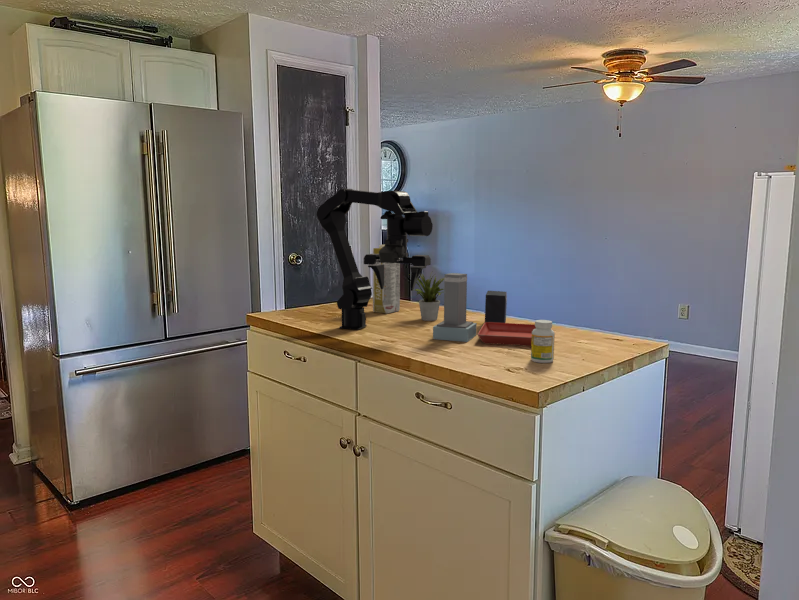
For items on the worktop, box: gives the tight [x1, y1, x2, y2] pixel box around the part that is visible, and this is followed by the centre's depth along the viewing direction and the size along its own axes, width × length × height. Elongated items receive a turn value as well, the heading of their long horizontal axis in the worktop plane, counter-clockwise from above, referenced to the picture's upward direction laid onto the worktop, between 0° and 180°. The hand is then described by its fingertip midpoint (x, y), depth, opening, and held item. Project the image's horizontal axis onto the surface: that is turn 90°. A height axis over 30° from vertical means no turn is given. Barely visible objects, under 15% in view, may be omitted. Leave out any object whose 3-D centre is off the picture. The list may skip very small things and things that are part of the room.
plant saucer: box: [476, 321, 536, 347], centre depth 168 cm, size 18×18×3 cm
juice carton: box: [372, 243, 401, 314], centre depth 214 cm, size 9×8×24 cm
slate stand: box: [432, 320, 478, 343], centre depth 171 cm, size 10×10×4 cm
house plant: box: [408, 270, 444, 322], centre depth 199 cm, size 14×14×16 cm
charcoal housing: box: [443, 272, 468, 325], centre depth 170 cm, size 5×5×14 cm
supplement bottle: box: [530, 319, 556, 364], centre depth 144 cm, size 5×5×10 cm
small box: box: [484, 290, 508, 323], centre depth 189 cm, size 11×6×10 cm, turn 168°
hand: (396, 289), depth 174 cm, fingers open, 9 cm apart
